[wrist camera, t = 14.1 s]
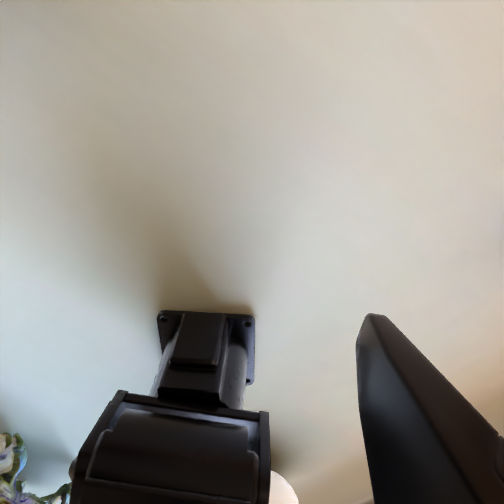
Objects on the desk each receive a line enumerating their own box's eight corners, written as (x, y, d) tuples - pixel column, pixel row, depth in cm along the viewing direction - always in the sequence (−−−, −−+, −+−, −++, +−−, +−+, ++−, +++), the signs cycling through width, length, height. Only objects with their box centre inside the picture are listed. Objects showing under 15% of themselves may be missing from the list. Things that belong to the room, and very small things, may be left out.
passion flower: (41, 388, 41) (-27, 438, 29) (132, 444, 42) (101, 515, 30) (-27, 486, 40) (-126, 578, 28) (67, 542, 41) (9, 654, 29)
